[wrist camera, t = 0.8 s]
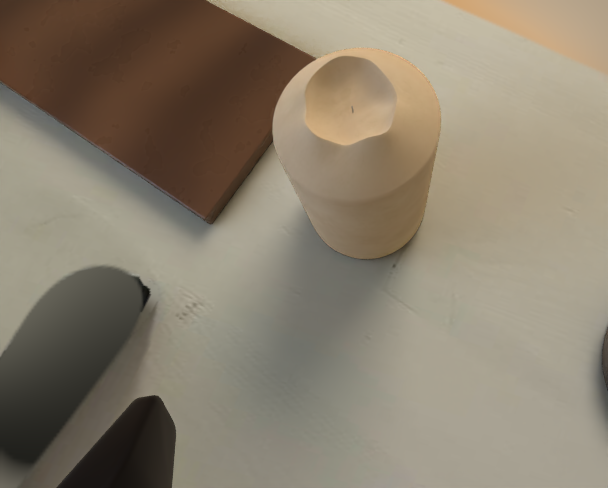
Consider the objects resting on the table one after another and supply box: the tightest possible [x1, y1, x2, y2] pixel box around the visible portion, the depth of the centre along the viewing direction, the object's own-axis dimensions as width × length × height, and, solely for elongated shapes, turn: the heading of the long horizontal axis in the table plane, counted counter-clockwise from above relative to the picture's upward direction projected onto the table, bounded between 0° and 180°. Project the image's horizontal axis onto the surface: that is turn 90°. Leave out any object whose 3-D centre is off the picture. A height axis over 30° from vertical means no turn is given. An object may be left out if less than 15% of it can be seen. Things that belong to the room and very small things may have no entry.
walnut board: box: [0, 0, 316, 224], centre depth 29 cm, size 20×10×1 cm, turn 55°
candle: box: [272, 48, 441, 259], centre depth 20 cm, size 6×6×10 cm
